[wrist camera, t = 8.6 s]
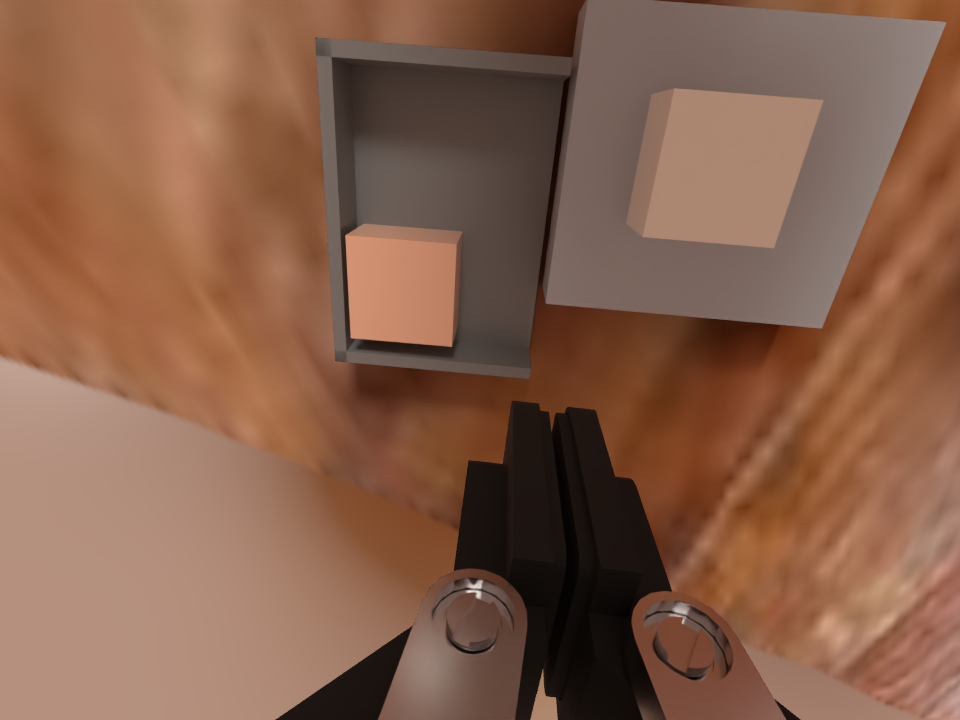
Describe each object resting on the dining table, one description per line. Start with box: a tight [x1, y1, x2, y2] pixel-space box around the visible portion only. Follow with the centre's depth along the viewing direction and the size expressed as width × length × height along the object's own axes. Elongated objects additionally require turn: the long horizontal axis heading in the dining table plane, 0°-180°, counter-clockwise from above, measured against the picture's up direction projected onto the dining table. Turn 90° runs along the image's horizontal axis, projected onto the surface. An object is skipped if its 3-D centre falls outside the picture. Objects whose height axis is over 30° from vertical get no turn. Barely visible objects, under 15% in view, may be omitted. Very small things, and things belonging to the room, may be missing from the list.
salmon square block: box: [345, 224, 463, 347], centre depth 24 cm, size 5×5×3 cm
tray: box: [315, 38, 573, 379], centre depth 23 cm, size 14×10×3 cm
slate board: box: [542, 0, 946, 328], centre depth 22 cm, size 12×13×3 cm
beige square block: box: [626, 88, 824, 248], centre depth 19 cm, size 5×5×3 cm
